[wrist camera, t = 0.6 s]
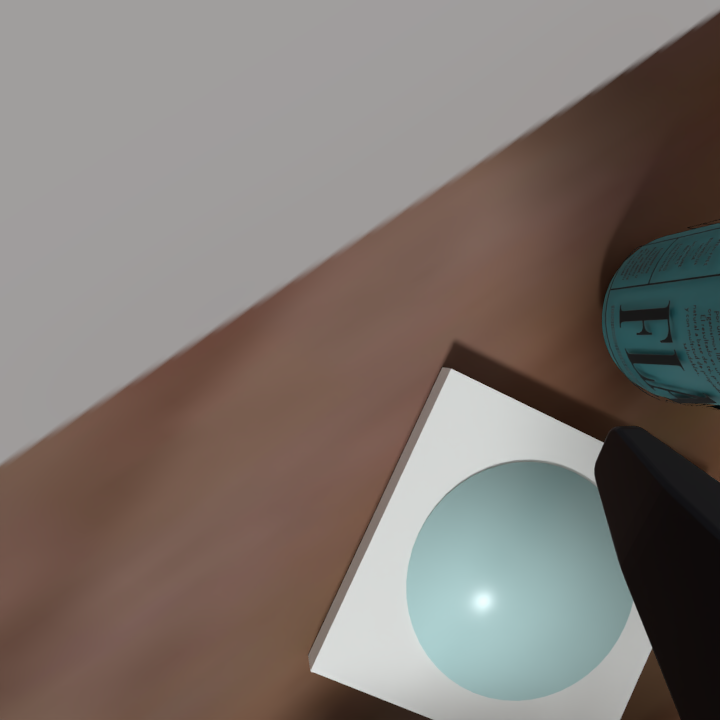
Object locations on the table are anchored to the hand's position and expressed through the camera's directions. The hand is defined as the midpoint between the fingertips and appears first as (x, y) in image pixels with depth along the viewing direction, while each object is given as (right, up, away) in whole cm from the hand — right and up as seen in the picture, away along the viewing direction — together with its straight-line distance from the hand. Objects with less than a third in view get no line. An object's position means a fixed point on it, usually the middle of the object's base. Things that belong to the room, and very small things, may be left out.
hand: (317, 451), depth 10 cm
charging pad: (+7, -7, +17) cm, 19 cm away
